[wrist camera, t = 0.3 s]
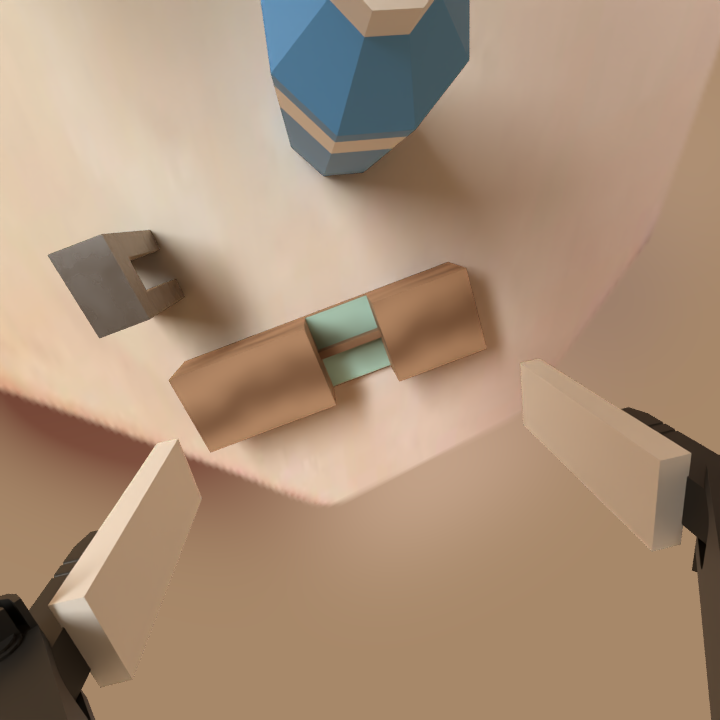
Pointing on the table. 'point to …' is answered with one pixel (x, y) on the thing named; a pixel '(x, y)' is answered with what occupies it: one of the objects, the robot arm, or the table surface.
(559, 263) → the table surface
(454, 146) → the table surface
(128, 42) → the table surface
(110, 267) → the clip
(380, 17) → the water bottle
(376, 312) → the rail
